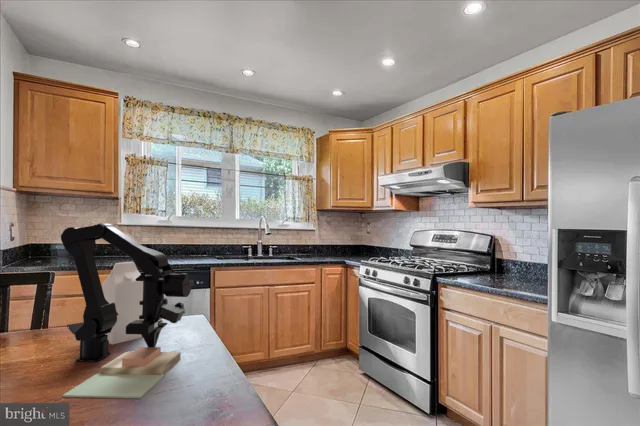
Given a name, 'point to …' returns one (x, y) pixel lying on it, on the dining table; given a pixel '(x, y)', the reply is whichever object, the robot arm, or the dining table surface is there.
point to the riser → (152, 368)
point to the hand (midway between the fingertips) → (152, 350)
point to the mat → (115, 386)
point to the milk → (124, 299)
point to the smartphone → (75, 327)
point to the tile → (141, 356)
